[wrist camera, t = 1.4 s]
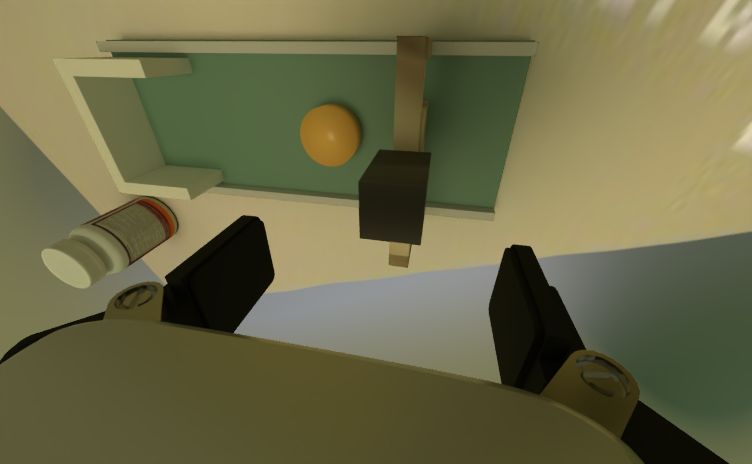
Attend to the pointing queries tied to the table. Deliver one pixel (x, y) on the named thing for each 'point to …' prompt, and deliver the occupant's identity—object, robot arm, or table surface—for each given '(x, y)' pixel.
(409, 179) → the striker
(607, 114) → the table surface
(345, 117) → the yellow domed round part
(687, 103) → the table surface
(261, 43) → the pitch
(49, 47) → the table surface
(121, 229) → the pill bottle
